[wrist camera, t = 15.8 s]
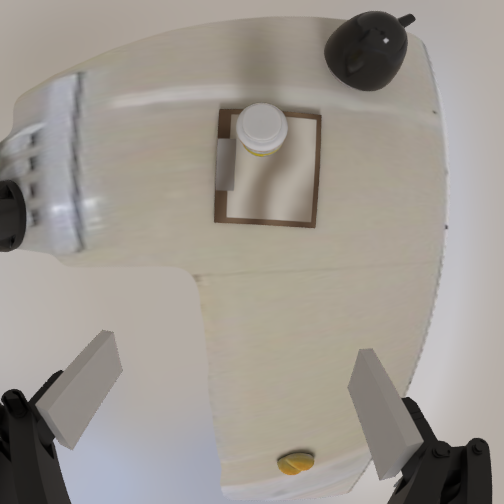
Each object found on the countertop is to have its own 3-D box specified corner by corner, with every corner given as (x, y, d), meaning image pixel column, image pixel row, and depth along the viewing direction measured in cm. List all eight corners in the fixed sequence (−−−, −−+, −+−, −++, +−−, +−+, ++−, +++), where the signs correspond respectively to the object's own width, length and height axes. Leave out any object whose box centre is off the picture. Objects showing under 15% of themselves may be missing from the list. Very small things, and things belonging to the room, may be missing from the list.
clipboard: (215, 221, 38) (212, 223, 36) (220, 110, 34) (218, 107, 32) (314, 227, 38) (316, 229, 36) (320, 116, 34) (323, 113, 32)
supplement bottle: (249, 113, 33) (245, 88, 23) (288, 126, 34) (298, 106, 24) (235, 149, 35) (225, 137, 25) (274, 163, 35) (279, 156, 25)
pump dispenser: (394, 81, 31) (447, 46, 16) (350, 109, 33) (396, 74, 18) (353, 33, 29) (386, -18, 15) (305, 58, 31) (325, 2, 17)
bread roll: (319, 458, 52) (320, 469, 48) (290, 469, 54) (290, 480, 50) (301, 447, 50) (303, 460, 47) (271, 459, 52) (271, 471, 48)
